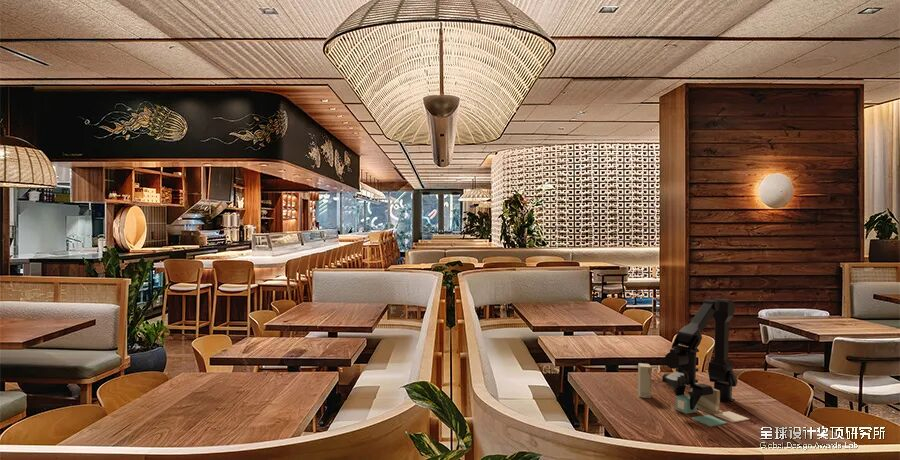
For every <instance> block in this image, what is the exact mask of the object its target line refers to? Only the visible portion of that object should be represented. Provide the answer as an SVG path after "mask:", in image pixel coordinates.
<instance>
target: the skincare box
mask: <svg viewBox="0 0 900 460" xmlns="http://www.w3.org/2000/svg"><path fill="white" fill-rule="evenodd" d="M637 366H638V367H637V370H638V371H637V395H638V397H639V398H645V399H647V398H648V399H651V398H652V366H651V365H650V364H649V363H641V362H639V363H638V365H637Z"/></svg>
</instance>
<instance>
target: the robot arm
mask: <svg viewBox="0 0 900 460" xmlns="http://www.w3.org/2000/svg"><path fill="white" fill-rule="evenodd" d="M701 304H702V305H701V306H700V308H699V309H698V311H697V312H696V313H695V316H693V318H692V319H691V321H690V323H688V324H687V325H684V326H683V327H682V328H680V329H679V330H678V332H677V333H676V336H675V338H674V339H673V342H672V344H671V348H670V349H669V352H668V353H666V354H665V356H664V363H665V365H666V366H667V367H668V368H669V369H673V370H674V369H675V371H674V372H670V373H664V374H663V375H662V377H661V378H662V379H661V380H662V382H663V383H665V384H667V386H669V387H670V388H671V389H673V391H674V394H675V397H676V396H678V395H685V393H686V392H685V390H686V387H687V388H689V389H690V388H692V391H690V390H689V391H687V393H688V395H689V396H690V409H691V410H693V409H694V407H695V406H696V404H697V402H698V401H699V399H700V398H701V396H704V395H711V394H713V388H714V389H717V390H720V402H723V403H726V402H727V403H728V402H734V401H736V399H735V398H733V397H732V396H733V395H732V393H733V392H732V391H733V387H734V388H735V387H737V384H738V378H737V377H736V375H735V373H734V370H733V369H734V367H733V365H732V362H731V361H730V360H729V343H730V341H729V340H730V335H729V333H730V321H731V320H732V318H733V317H734V316H735V311H736V304H735V303H734V302H733V300H732V299H725V298H719V297H718V298H717V297H714V298H713V299H709V298H708V299H707V298H706V299H703V301H702V303H701ZM712 318H713V320H714V352H713V353H714V355H713V358H712V360H710V361H709V362H708V371H707V373H708V379H709V382H710V383H713V386H711V385H709V384H705V383H699V380H698V379H696V378H697V375H696V374H697V372H699V368H697V353H699V352H700V350H699V348H698V347H699V346H700V344H701V341H702V339H703V336H702V335H703V334H702V332H703V331H704V329H705V327H707V325H708V323H709V322H710V320H711V319H712ZM695 383H699V384H695Z"/></svg>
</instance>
